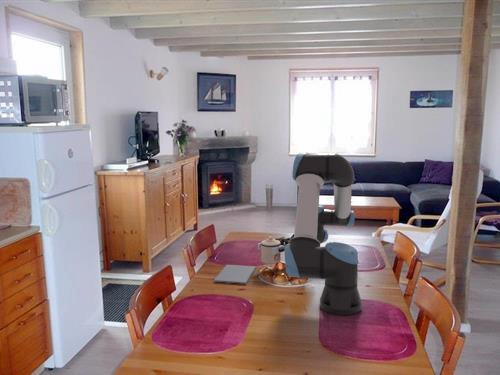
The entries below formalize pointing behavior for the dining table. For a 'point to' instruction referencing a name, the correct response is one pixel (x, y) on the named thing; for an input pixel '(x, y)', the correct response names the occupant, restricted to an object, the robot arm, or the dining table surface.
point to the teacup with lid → (269, 251)
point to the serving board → (235, 274)
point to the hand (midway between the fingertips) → (265, 248)
